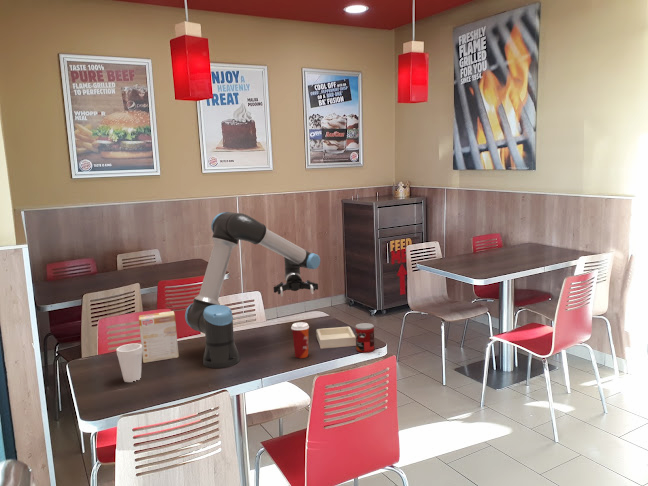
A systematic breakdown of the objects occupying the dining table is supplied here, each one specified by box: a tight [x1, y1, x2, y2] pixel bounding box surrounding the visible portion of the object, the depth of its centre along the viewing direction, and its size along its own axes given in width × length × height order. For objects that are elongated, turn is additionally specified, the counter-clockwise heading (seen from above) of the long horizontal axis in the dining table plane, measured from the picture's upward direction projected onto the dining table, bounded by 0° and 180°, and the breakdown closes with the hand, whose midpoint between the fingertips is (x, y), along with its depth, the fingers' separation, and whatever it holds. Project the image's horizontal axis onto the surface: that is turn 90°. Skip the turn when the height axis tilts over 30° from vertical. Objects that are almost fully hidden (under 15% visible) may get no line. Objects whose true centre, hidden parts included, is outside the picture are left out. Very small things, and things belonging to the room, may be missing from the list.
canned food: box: [355, 322, 375, 354], centre depth 230 cm, size 8×8×11 cm
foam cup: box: [115, 342, 143, 383], centre depth 208 cm, size 10×9×13 cm
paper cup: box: [290, 321, 310, 359], centre depth 225 cm, size 8×8×14 cm
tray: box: [315, 326, 356, 350], centre depth 243 cm, size 16×16×4 cm
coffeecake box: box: [138, 310, 180, 363], centre depth 230 cm, size 15×7×20 cm, turn 110°
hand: (297, 292), depth 232 cm, fingers open, 13 cm apart
